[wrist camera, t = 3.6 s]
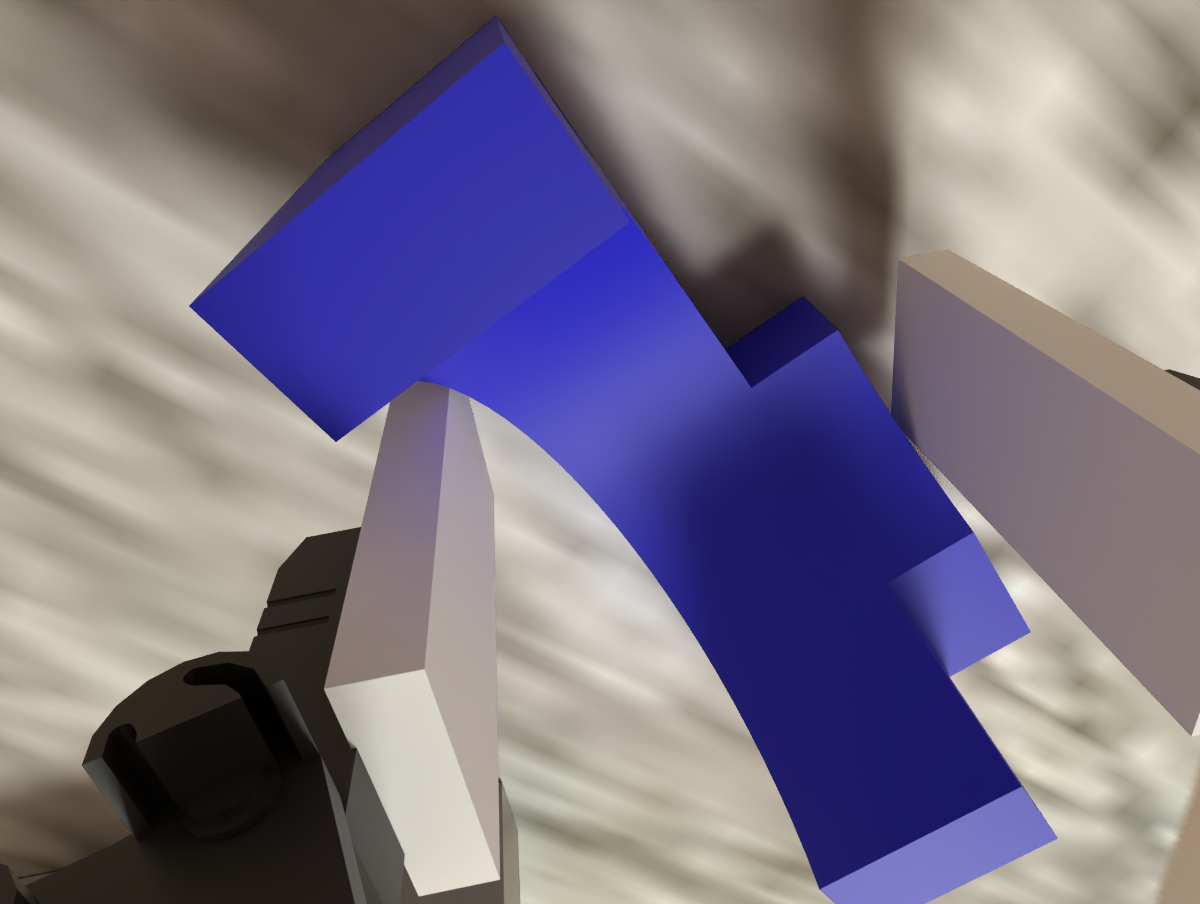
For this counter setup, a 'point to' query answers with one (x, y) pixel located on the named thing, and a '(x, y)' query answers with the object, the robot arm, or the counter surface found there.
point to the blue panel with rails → (483, 900)
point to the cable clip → (663, 453)
